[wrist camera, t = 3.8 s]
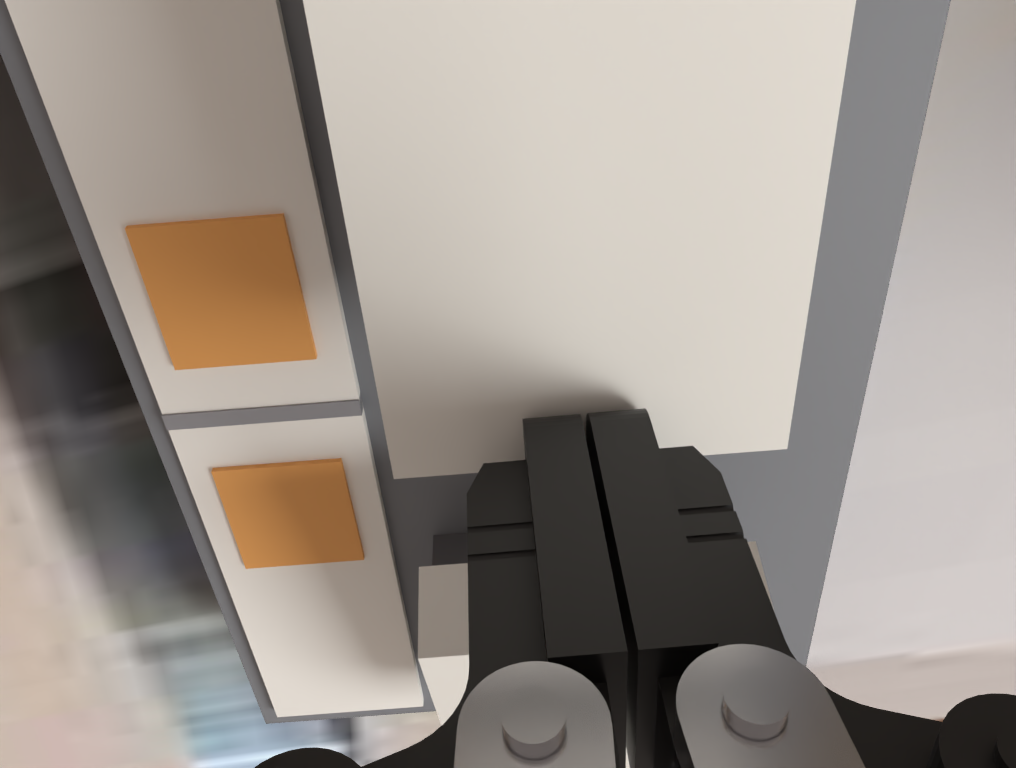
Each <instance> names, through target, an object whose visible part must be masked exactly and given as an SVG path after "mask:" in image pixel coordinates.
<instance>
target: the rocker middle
mask: <svg viewBox="0 0 1016 768" xmlns="http://www.w3.org/2000/svg"><path fill="white" fill-rule="evenodd" d="M303 4H304V9H305V14H306V20H307V25H308V30H309V35H310V41H311V46H312V51H313V57H314V62H315V67H316V72H317V78H318V83H319V88H320V93H321V99H322V104H323V109H324V114H325V120H326V125H327V130H328V136H329V141H330V146H331V151H332V157H333V162H334V167H335V172H336V178H337V183H338V188H339V193H340V199H341V204H342V209H343V215H344V220H345V225H346V230H347V236H348V241H349V246H350V251H351V257H352V262H353V267H354V272H355V278H356V283H357V288H358V294H359V299H360V304H361V309H362V315H363V320H364V325H365V330H366V336H367V341H368V346H369V352H370V357H371V362H372V367H373V373H374V378H375V383H376V388H377V394H378V399H379V404H380V409H381V415H382V420H383V425H384V431H385V436H386V441H387V446H388V452H389V457H390V462H391V467H392V473H393V478H394V479H402V478H415V477H429V476H442V475H455V474H468V473H478V472H479V470H480V469H481V467H482V465H483V463H493V462H505V461H517V460H525V450H524V436H523V419H525V418H537V417H549V416H561V415H573V414H580V415H581V417H582V422H583V427H584V432H585V437H586V415H587V413H595V412H607V411H619V410H631V409H643V408H645V409H646V410H647V411H648V414H649V417H650V420H651V423H652V426H653V430H654V433H655V436H656V440H657V443H658V446H659V448H671V447H683V446H694V447H695V448H696V449H697V450H698V451H699V452H700V453H701V454H702V455H716V454H729V453H742V452H755V451H769V450H782V449H787V447H788V441H789V434H790V428H791V421H792V415H793V408H794V402H795V395H796V389H797V382H798V376H799V369H800V363H801V356H802V350H803V343H804V337H805V330H806V324H807V317H808V311H809V304H810V298H811V291H812V285H813V278H814V272H815V265H816V259H817V252H818V246H819V239H820V233H821V226H822V220H823V213H824V207H825V200H826V194H827V187H828V181H829V174H830V168H831V161H832V155H833V148H834V142H835V135H836V129H837V122H838V116H839V109H840V103H841V96H842V90H843V83H844V77H845V70H846V63H847V57H848V50H849V44H850V37H851V31H852V24H853V18H854V11H855V5H856V0H303Z"/></svg>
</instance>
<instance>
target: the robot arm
mask: <svg viewBox="0 0 1016 768" xmlns="http://www.w3.org/2000/svg"><path fill="white" fill-rule="evenodd" d="M523 436H524V450H525V460H517V461H505V462H493V463H483V465H482V467H481V469H480V470H479V472H478V474H477V476H476V478H475V479H474V481H473V483H472V485H471V487H470V489H469V490H468V492H467V530H468V534H467V550H468V622H469V675H468V681H467V685H466V689H465V692H464V694H463V697H462V699H461V701H460V703H459V705H458V706H457V708H456V709H455V711H454V712H453V714H452V715H451V716H450V717H449V718H448V720H447V721H446V722H445V723H444V724H443V725H442V726H441V727H440V728H438V729H437V730H436V731H435V732H434V733H433V734H431V735H430V736H428V737H427V738H425V739H424V740H422V741H421V742H419V743H417V744H415V745H413V746H410V747H408V748H406V749H404V750H401V751H399V752H397V753H394V754H392V755H389V756H387V757H384V758H382V759H379V760H377V761H375V762H372V763H370V764H367V765H365V766H362V767H360V766H359V765H358V764H357V763H356V762H355V761H353V760H352V759H351V758H349V757H347V756H345V755H343V754H342V753H339V752H336V751H333V750H330V749H323V748H301V749H296V750H291V751H287V752H284V753H281V754H278V755H276V756H274V757H272V758H270V759H268V760H266V761H264V762H262V763H260V764H259V765H258V766H256V767H255V768H626V748H627V754H628V760H629V765H630V768H1016V695H1009V694H985V695H978V696H975V697H971V698H968V699H966V700H964V701H962V702H960V703H959V704H957V705H956V706H955V707H954V708H953V709H951V710H950V711H949V712H948V714H947V715H946V717H945V719H944V720H943V722H940V721H935V720H930V719H925V718H920V717H915V716H911V715H906V714H901V713H896V712H891V711H886V710H882V709H877V708H873V707H869V706H865V705H862V704H859V703H856V702H854V701H851V700H849V699H846V698H844V697H842V696H840V695H838V694H836V693H835V692H833V691H831V690H829V689H828V688H826V687H825V686H824V685H823V684H822V683H821V682H820V681H819V679H818V678H817V677H816V676H815V675H814V674H813V673H812V672H811V671H810V670H809V669H808V668H806V667H805V666H804V665H803V664H801V663H800V662H798V661H797V660H796V659H795V657H794V656H793V654H792V653H791V651H790V649H789V647H788V645H787V643H786V641H785V638H784V636H783V633H782V631H781V628H780V625H779V623H778V620H777V618H776V615H775V612H774V610H773V607H772V604H771V602H770V599H769V597H768V594H767V591H766V589H765V586H764V584H763V581H762V578H761V576H760V573H759V571H758V568H757V565H756V563H755V560H754V558H753V555H752V552H751V550H750V547H749V545H748V542H747V539H744V534H743V529H742V526H741V524H740V521H739V518H738V516H737V513H736V511H734V509H733V503H732V500H731V498H730V495H729V492H728V490H727V487H726V485H725V482H724V479H723V477H722V474H721V472H720V471H719V470H718V469H717V468H716V467H715V466H714V465H713V464H712V463H711V462H710V461H709V460H707V459H706V458H705V457H704V456H703V455H702V454H701V453H700V452H699V451H698V450H697V449H696V448H695V447H694V446H683V447H671V448H659V446H658V443H657V440H656V436H655V433H654V430H653V426H652V423H651V420H650V417H649V414H648V411H647V410H646V409H645V408H643V409H631V410H619V411H607V412H595V413H587V415H586V437H585V432H584V427H583V422H582V417H581V415H580V414H573V415H561V416H549V417H537V418H525V419H523Z"/></svg>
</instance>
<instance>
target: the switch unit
mask: <svg viewBox="0 0 1016 768" xmlns="http://www.w3.org/2000/svg"><path fill="white" fill-rule="evenodd" d="M950 1H951V0H856V5H855V11H854V18H853V24H852V31H851V37H850V44H849V50H848V57H847V63H846V70H845V77H844V83H843V90H842V96H841V103H840V109H839V116H838V122H837V129H836V135H835V142H834V148H833V155H832V161H831V168H830V174H829V181H828V187H827V194H826V200H825V207H824V213H823V220H822V226H821V233H820V239H819V246H818V252H817V259H816V265H815V272H814V278H813V285H812V291H811V298H810V304H809V311H808V317H807V324H806V330H805V337H804V343H803V350H802V356H801V363H800V369H799V376H798V382H797V389H796V395H795V402H794V408H793V415H792V421H791V428H790V434H789V441H788V447H787V449H782V450H769V451H755V452H742V453H729V454H716V455H703V456H704V457H705V458H706V459H707V460H709V461H710V462H711V463H712V464H713V465H714V466H715V467H716V468H717V469H718V470H719V471H720V472H721V474H722V477H723V479H724V482H725V485H726V487H727V490H728V492H729V495H730V498H731V500H732V503H733V509H734V511H736V513H737V516H738V518H739V521H740V524H741V526H742V529H743V534H744V539H747V542H753V541H756V544H757V548H758V552H759V556H760V560H761V563H762V567H763V571H764V575H765V578H766V582H767V586H768V590H769V593H770V597H771V601H772V605H773V608H774V612H775V615H776V618H777V620H778V623H779V625H780V628H781V631H782V633H783V636H784V638H785V641H786V643H787V645H788V647H789V649H790V651H791V653H792V654H793V656H794V657H795V659H796V660H797V661H798V662H800V663H801V664H803V665H804V666H805V667H806V663H807V658H808V654H809V649H810V644H811V640H812V635H813V631H814V626H815V621H816V617H817V612H818V608H819V603H820V598H821V594H822V589H823V585H824V580H825V575H826V571H827V566H828V562H829V557H830V552H831V548H832V543H833V539H834V534H835V530H836V525H837V520H838V516H839V511H840V507H841V502H842V497H843V493H844V488H845V484H846V479H847V474H848V470H849V465H850V461H851V456H852V451H853V447H854V442H855V438H856V433H857V428H858V424H859V419H860V415H861V410H862V405H863V401H864V396H865V392H866V387H867V382H868V378H869V373H870V369H871V364H872V359H873V355H874V350H875V346H876V341H877V337H878V332H879V327H880V323H881V318H882V314H883V309H884V304H885V300H886V295H887V291H888V286H889V281H890V277H891V272H892V268H893V263H894V258H895V254H896V249H897V245H898V240H899V235H900V231H901V226H902V222H903V217H904V212H905V208H906V203H907V199H908V194H909V189H910V185H911V180H912V176H913V171H914V166H915V162H916V157H917V153H918V148H919V143H920V139H921V134H922V130H923V125H924V121H925V116H926V111H927V107H928V102H929V98H930V93H931V88H932V84H933V79H934V75H935V70H936V65H937V61H938V56H939V52H940V47H941V42H942V38H943V33H944V29H945V24H946V19H947V15H948V10H949V6H950ZM0 54H1V56H2V59H3V61H4V64H5V66H6V69H7V71H8V74H9V76H10V79H11V81H12V84H13V86H14V89H15V91H16V94H17V96H18V99H19V101H20V104H21V107H22V109H23V112H24V114H25V117H26V119H27V122H28V124H29V127H30V129H31V132H32V134H33V137H34V139H35V142H36V144H37V147H38V149H39V152H40V154H41V157H42V159H43V162H44V165H45V167H46V170H47V172H48V175H49V177H50V180H51V182H52V185H53V187H54V190H55V192H56V195H57V197H58V200H59V202H60V205H61V207H62V210H63V212H64V215H65V218H66V220H67V223H68V225H69V228H70V230H71V233H72V235H73V238H74V240H75V243H76V245H77V248H78V250H79V253H80V255H81V258H82V260H83V263H84V265H85V268H86V271H87V273H88V276H89V278H90V281H91V283H92V286H93V288H94V291H95V293H96V296H97V298H98V301H99V303H100V306H101V308H102V311H103V313H104V316H105V318H106V321H107V323H108V326H109V329H110V331H111V334H112V336H113V339H114V341H115V344H116V346H117V349H118V351H119V354H120V356H121V359H122V361H123V364H124V366H125V369H126V371H127V374H128V376H129V379H130V382H131V384H132V387H133V389H134V392H135V394H136V397H137V399H138V402H139V404H140V407H141V409H142V412H143V414H144V417H145V419H146V422H147V424H148V427H149V429H150V432H151V435H152V437H153V440H154V442H155V445H156V447H157V450H158V452H159V455H160V457H161V460H162V462H163V465H164V467H165V470H166V472H167V475H168V477H169V480H170V482H171V485H172V488H173V490H174V493H175V495H176V498H177V500H178V503H179V505H180V508H181V510H182V513H183V515H184V518H185V520H186V523H187V525H188V528H189V530H190V533H191V535H192V538H193V540H194V543H195V546H196V548H197V551H198V553H199V556H200V558H201V561H202V563H203V566H204V568H205V571H206V573H207V576H208V578H209V581H210V583H211V586H212V588H213V591H214V593H215V596H216V599H217V601H218V604H219V606H220V609H221V611H222V614H223V616H224V619H225V621H226V624H227V626H228V629H229V631H230V634H231V636H232V639H233V641H234V644H235V646H236V649H237V652H238V654H239V657H240V659H241V662H242V664H243V667H244V669H245V672H246V674H247V677H248V679H249V682H250V684H251V687H252V689H253V692H254V694H255V697H256V699H257V702H258V705H259V707H260V710H261V712H262V715H263V717H264V720H265V722H266V724H268V723H282V722H295V721H308V720H322V719H335V718H349V717H362V716H375V715H389V714H402V713H416V712H429V711H436V709H435V706H434V703H433V701H432V698H431V695H430V692H429V689H428V686H427V683H426V681H425V678H424V675H423V672H422V669H421V666H420V663H419V661H418V599H419V567H423V566H436V565H450V564H463V563H468V550H467V534H468V530H467V492H468V490H469V489H470V487H471V485H472V483H473V481H474V479H475V478H476V476H477V474H478V473H468V474H455V475H442V476H429V477H415V478H402V479H394V478H393V473H392V467H391V462H390V457H389V452H388V446H387V441H386V436H385V431H384V425H383V420H382V415H381V409H380V404H379V399H378V394H377V388H376V383H375V378H374V373H373V367H372V362H371V357H370V352H369V346H368V341H367V336H366V330H365V325H364V320H363V315H362V309H361V304H360V299H359V294H358V288H357V283H356V278H355V272H354V267H353V262H352V257H351V251H350V246H349V241H348V236H347V230H346V225H345V220H344V215H343V209H342V204H341V199H340V193H339V188H338V183H337V178H336V172H335V167H334V162H333V157H332V151H331V146H330V141H329V136H328V130H327V125H326V120H325V114H324V109H323V104H322V99H321V93H320V88H319V83H318V78H317V72H316V67H315V62H314V57H313V51H312V46H311V41H310V35H309V30H308V25H307V20H306V14H305V9H304V4H303V0H0Z"/></svg>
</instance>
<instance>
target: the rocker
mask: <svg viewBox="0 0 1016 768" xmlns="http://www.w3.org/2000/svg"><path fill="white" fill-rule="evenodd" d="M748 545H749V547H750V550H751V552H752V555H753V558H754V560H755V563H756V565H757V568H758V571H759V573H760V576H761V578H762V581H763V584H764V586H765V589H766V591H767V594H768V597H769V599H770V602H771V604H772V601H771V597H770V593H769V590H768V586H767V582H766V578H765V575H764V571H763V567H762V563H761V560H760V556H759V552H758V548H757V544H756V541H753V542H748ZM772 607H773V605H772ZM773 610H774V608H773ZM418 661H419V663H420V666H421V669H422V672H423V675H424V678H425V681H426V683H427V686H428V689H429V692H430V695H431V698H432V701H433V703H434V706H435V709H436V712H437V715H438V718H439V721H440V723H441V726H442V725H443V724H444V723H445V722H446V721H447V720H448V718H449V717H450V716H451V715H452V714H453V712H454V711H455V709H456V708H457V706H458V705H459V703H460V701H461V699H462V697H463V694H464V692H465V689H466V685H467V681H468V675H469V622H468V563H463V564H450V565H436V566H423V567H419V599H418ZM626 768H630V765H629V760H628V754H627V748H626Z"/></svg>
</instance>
